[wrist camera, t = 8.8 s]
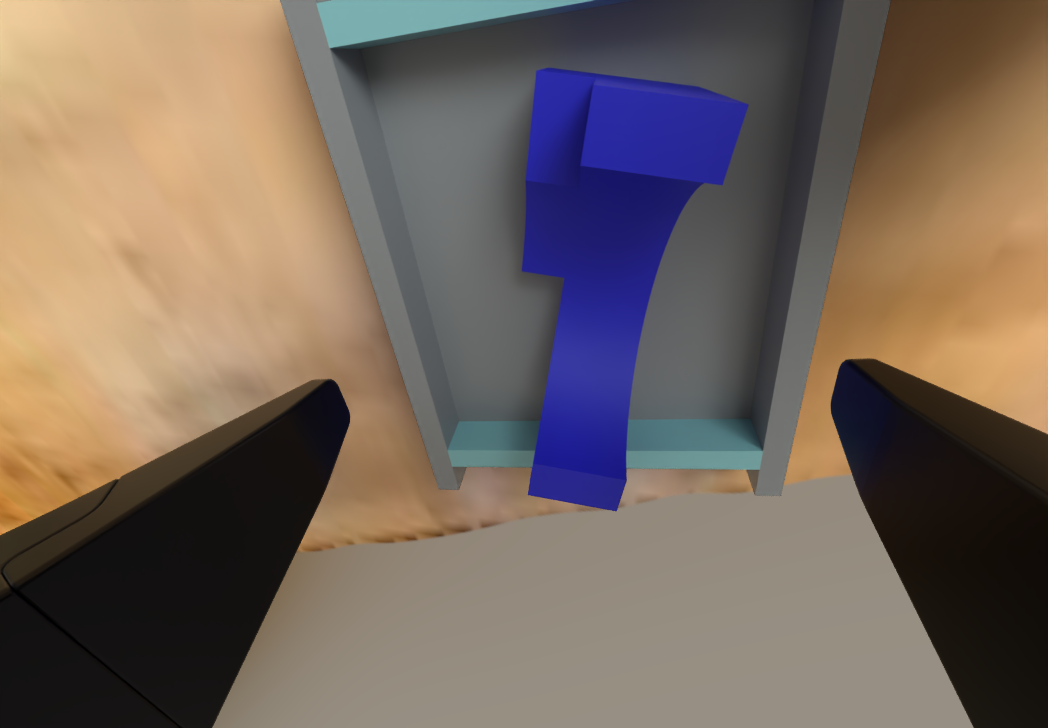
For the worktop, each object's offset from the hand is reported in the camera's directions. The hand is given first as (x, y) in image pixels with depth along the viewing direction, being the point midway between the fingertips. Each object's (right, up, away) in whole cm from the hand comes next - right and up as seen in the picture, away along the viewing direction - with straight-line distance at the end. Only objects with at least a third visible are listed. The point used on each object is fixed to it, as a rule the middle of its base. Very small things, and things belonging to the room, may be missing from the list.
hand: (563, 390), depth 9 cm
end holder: (+2, +5, +10) cm, 11 cm away
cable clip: (+2, +4, +9) cm, 10 cm away
